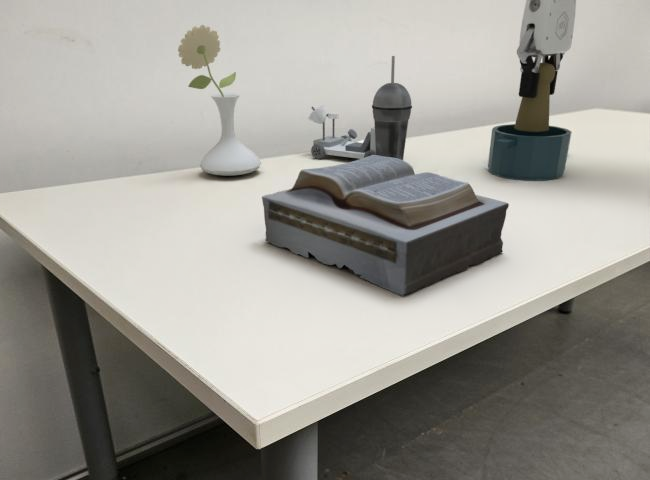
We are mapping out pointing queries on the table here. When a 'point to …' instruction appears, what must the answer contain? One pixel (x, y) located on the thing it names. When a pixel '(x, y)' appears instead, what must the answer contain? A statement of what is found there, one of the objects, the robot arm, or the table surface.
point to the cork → (537, 103)
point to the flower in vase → (229, 151)
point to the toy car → (340, 140)
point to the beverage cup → (391, 118)
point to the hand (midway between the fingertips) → (536, 94)
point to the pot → (528, 153)
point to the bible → (386, 222)
